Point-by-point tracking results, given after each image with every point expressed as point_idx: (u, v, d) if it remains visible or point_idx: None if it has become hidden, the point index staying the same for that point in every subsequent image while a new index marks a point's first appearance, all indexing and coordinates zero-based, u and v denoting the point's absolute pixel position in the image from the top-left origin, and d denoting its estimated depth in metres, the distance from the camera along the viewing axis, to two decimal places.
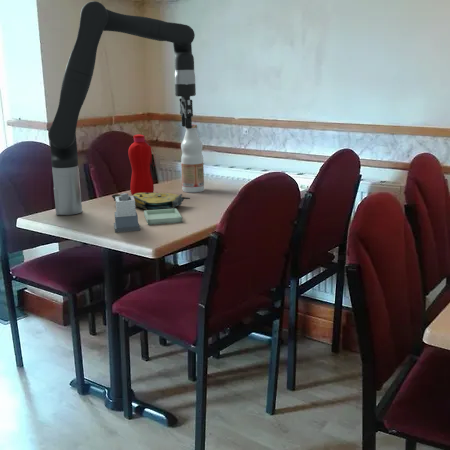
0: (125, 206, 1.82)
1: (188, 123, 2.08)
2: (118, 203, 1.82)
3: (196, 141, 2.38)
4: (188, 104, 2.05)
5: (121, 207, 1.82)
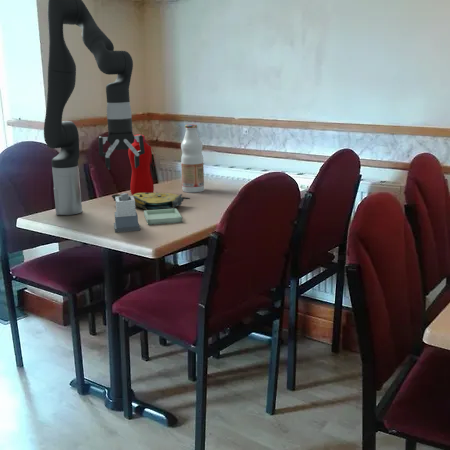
0: (125, 206, 1.82)
1: None
2: (118, 203, 1.82)
3: (196, 141, 2.38)
4: None
5: (121, 207, 1.82)
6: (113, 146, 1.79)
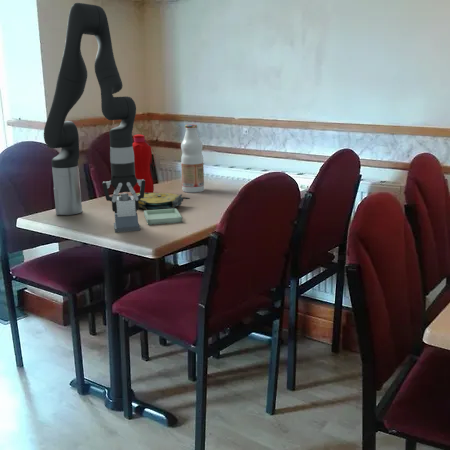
0: (125, 206, 1.82)
1: None
2: (118, 203, 1.82)
3: (196, 141, 2.38)
4: None
5: (121, 207, 1.82)
6: (117, 190, 1.83)
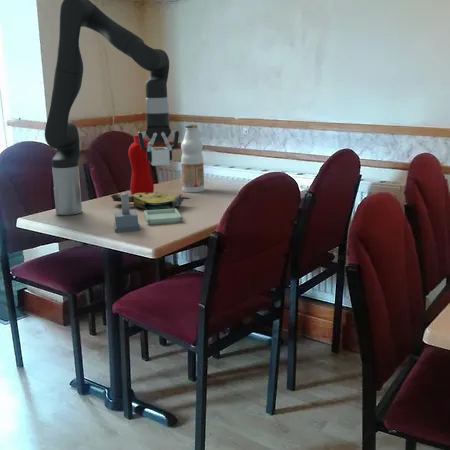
0: (159, 155, 1.90)
1: None
2: (153, 152, 1.89)
3: (196, 141, 2.38)
4: None
5: (156, 156, 1.90)
6: (152, 139, 1.90)
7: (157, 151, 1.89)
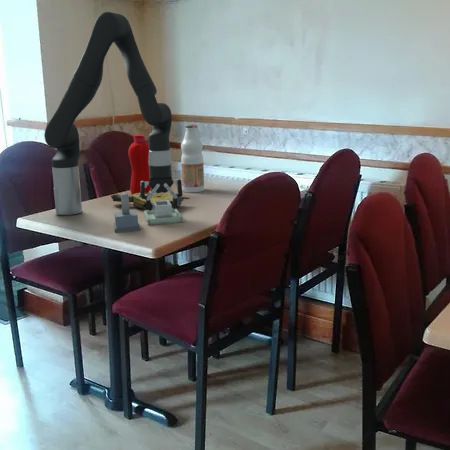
0: (162, 210, 1.95)
1: None
2: (156, 207, 1.94)
3: (196, 141, 2.38)
4: None
5: (159, 211, 1.95)
6: (154, 190, 1.95)
7: (160, 206, 1.94)
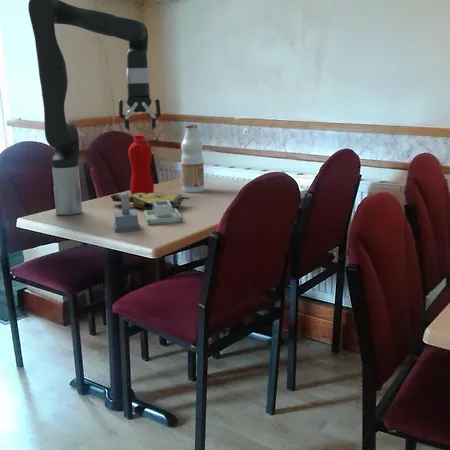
0: (162, 210, 1.95)
1: None
2: (156, 207, 1.94)
3: (196, 141, 2.38)
4: None
5: (159, 211, 1.95)
6: (132, 108, 1.96)
7: (160, 206, 1.94)
